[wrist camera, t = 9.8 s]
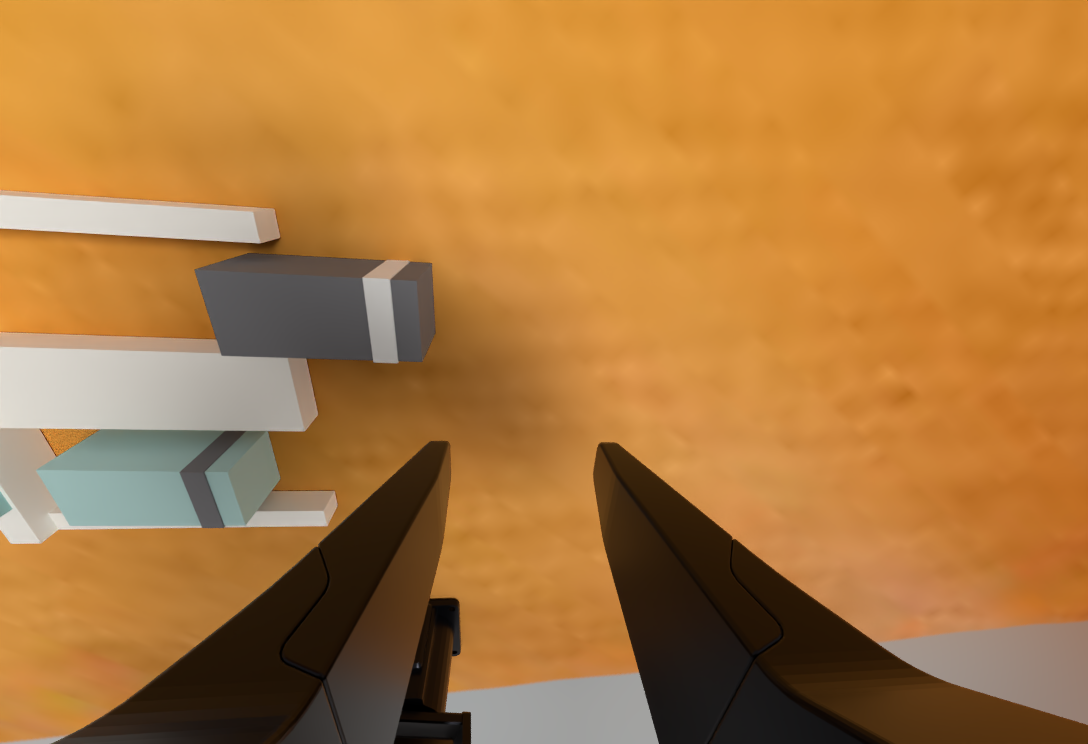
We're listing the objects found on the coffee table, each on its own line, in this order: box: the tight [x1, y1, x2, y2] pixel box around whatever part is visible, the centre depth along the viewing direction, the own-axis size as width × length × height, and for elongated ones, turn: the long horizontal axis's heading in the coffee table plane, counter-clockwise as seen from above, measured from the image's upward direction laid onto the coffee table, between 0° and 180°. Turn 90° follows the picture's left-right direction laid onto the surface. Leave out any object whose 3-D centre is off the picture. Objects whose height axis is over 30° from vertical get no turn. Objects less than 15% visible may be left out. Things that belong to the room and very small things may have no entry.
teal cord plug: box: [36, 429, 280, 528], centre depth 21 cm, size 4×8×4 cm, turn 85°
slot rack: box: [0, 190, 338, 544], centre depth 19 cm, size 17×15×3 cm
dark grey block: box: [195, 253, 435, 363], centre depth 17 cm, size 4×8×4 cm, turn 86°
